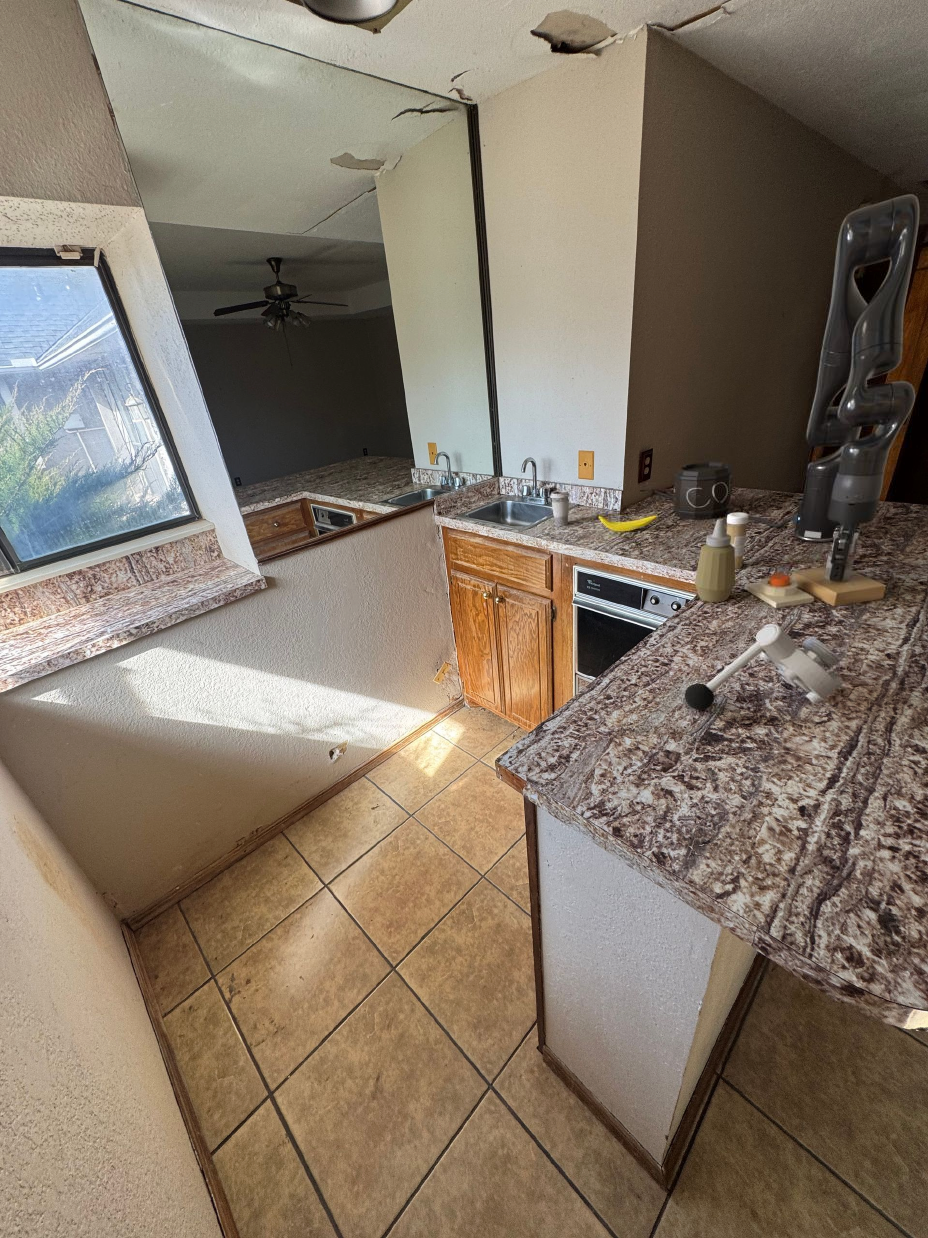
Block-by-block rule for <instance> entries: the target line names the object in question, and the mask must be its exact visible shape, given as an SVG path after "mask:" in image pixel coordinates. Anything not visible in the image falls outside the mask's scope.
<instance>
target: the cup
mask: <svg viewBox="0 0 928 1238" xmlns="http://www.w3.org/2000/svg"><path fill="white" fill-rule="evenodd" d="M570 495H571V494H570V492H569V490H566V489H560V490H554V491H552V492H551V493H550V495H549V498H550V499H551V508H552V514H553V515H552V516H553V519H554V525H555V527H565V526H568V525H569V512H570V511H569V510H570V509H569V508H570V507H569V505H570V499H569V497H570Z"/></svg>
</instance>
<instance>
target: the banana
mask: <svg viewBox="0 0 928 1238" xmlns="http://www.w3.org/2000/svg"><path fill="white" fill-rule="evenodd" d="M596 517H598V519H599V520H600V521H601V523H602V524H603V525H604V526H605V527H606V528H607V529H609V530H611V531H614V532H618V533H619V532H620V533H621V532H622V533H624V532H630V531H633V530H634V531H635V530H637V529H640V528H641V529H642V528H644V527H645V526H648V525H650V524H651V523H652V522H653V521H655V519H657V517H658V515H651V516H646V517H643V518H640V519H636V520H628V521H612V520H609V519H608V518H606V517H604V516H601V515H599V514H598V513H597V514H596Z"/></svg>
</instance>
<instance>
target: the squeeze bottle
mask: <svg viewBox="0 0 928 1238" xmlns="http://www.w3.org/2000/svg"><path fill="white" fill-rule="evenodd" d="M730 542H731V536H730V535H728V534H727V532H726V528H725V521H724V518H718V519H716V522H715V525H714V529H713V531H712V533H711V534H708V535H707V536H706V542H705V544H704V545H703V546H701V547H700V553H699V558H698V563H697V569H696V574H695V579H694V585H695V589H696V591H697V595H698V598H699V599H701V600H702V601H705V602H708V603H720V602H721V603H722V602H724V601H725V602H726V601H727V600H728V599H729V597H730V595H731V593H732V591H733V590H734V587H735V585H736V568H735V548H734V547H733V546H732V545H731V544H730Z"/></svg>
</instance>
